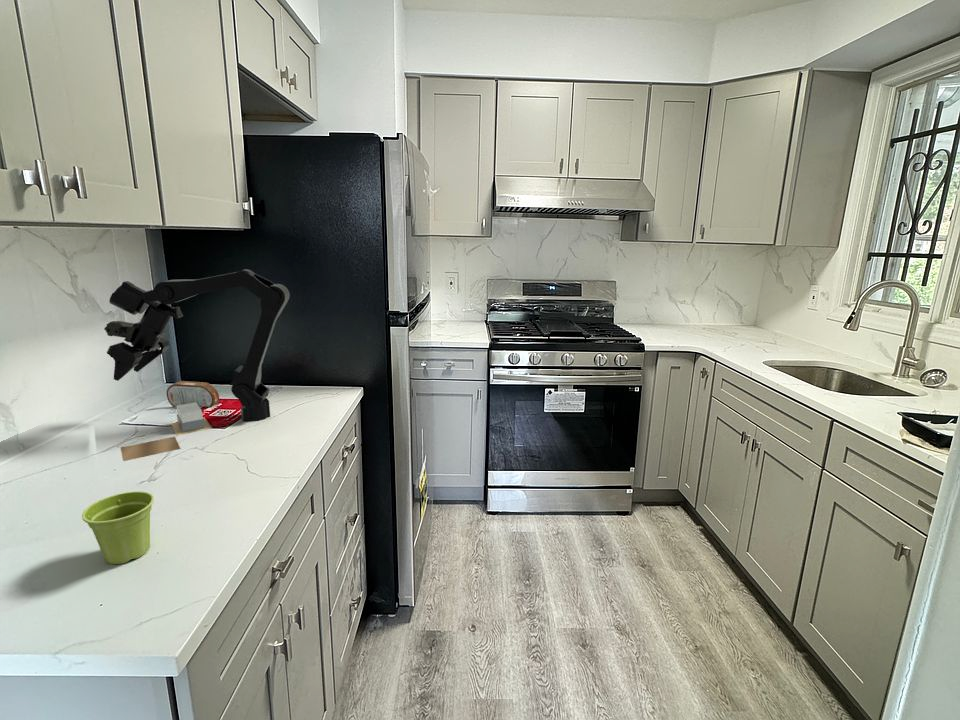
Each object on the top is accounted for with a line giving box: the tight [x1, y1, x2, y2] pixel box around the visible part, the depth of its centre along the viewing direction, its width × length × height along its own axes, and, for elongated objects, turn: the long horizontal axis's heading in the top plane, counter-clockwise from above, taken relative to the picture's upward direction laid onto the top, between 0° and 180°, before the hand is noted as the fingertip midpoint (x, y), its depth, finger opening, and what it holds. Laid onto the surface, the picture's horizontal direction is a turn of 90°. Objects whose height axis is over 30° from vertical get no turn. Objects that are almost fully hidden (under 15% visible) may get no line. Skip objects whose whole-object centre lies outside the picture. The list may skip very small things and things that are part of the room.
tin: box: [166, 380, 220, 408], centre depth 146 cm, size 15×3×8 cm, turn 84°
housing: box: [176, 403, 205, 433], centre depth 129 cm, size 5×8×5 cm, turn 39°
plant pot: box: [81, 490, 155, 565], centre depth 80 cm, size 9×9×9 cm
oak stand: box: [170, 416, 213, 436], centre depth 130 cm, size 8×10×2 cm
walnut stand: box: [120, 436, 182, 462], centre depth 117 cm, size 11×9×2 cm
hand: (126, 375), depth 128 cm, fingers open, 9 cm apart
